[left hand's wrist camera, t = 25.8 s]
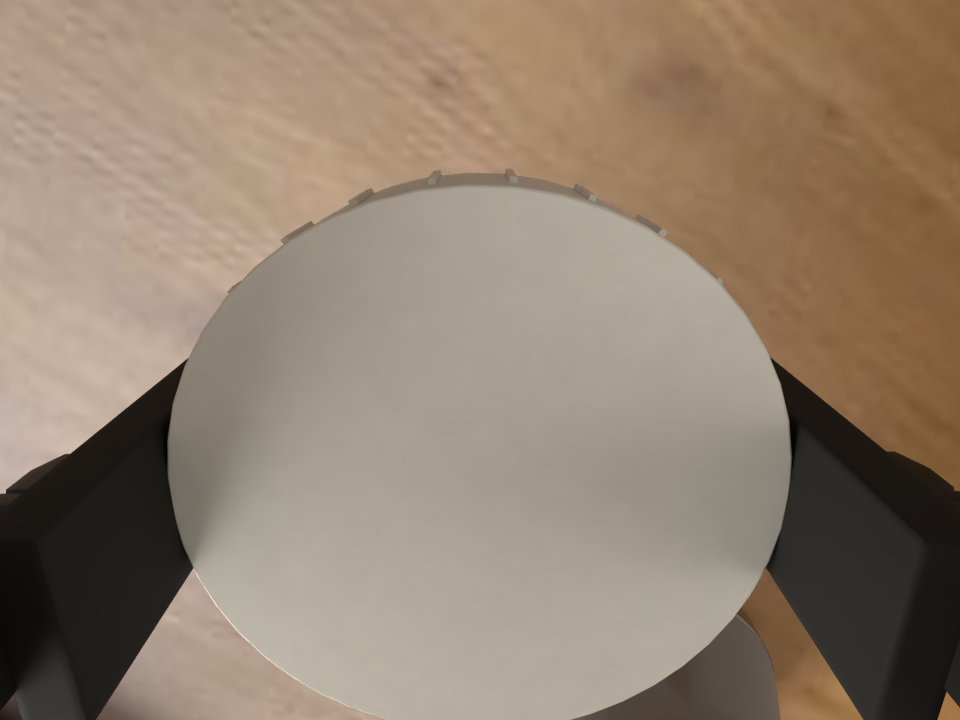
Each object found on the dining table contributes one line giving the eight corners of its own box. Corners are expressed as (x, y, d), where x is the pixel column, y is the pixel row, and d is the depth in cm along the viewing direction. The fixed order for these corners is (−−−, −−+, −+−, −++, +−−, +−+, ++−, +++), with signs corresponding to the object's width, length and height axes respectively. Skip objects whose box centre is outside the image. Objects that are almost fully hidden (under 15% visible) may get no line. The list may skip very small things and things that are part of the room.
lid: (199, 137, 10) (132, 141, 8) (808, 198, 10) (883, 215, 8) (223, 629, 13) (180, 715, 11) (685, 664, 14) (718, 753, 12)
